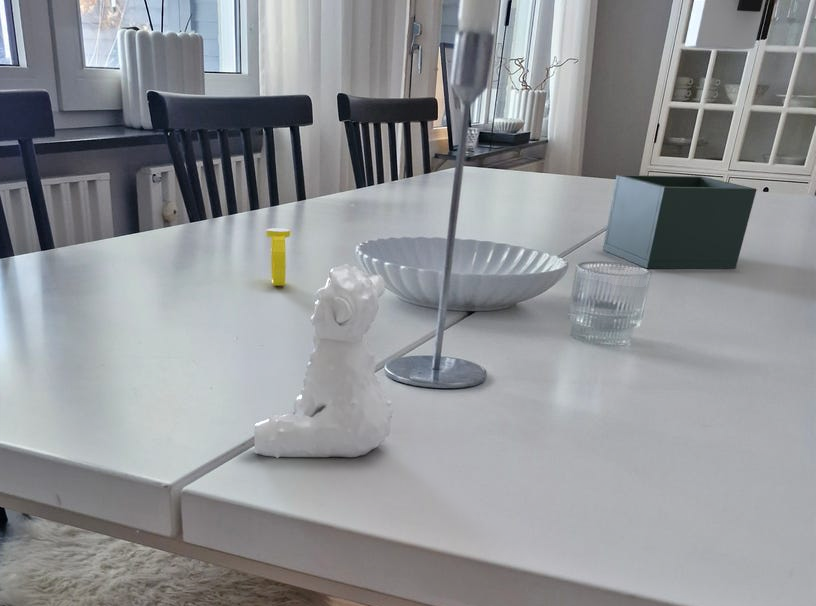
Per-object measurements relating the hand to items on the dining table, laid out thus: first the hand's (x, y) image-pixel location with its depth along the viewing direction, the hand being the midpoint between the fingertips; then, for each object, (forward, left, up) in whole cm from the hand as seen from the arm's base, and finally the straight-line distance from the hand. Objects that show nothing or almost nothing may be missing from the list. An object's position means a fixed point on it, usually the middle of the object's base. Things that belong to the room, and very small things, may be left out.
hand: (726, 11), depth 112 cm
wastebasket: (+1, 0, -29) cm, 29 cm away
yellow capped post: (-14, +59, -29) cm, 67 cm away
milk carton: (0, 0, -4) cm, 4 cm away
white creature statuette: (-65, +63, -29) cm, 95 cm away
